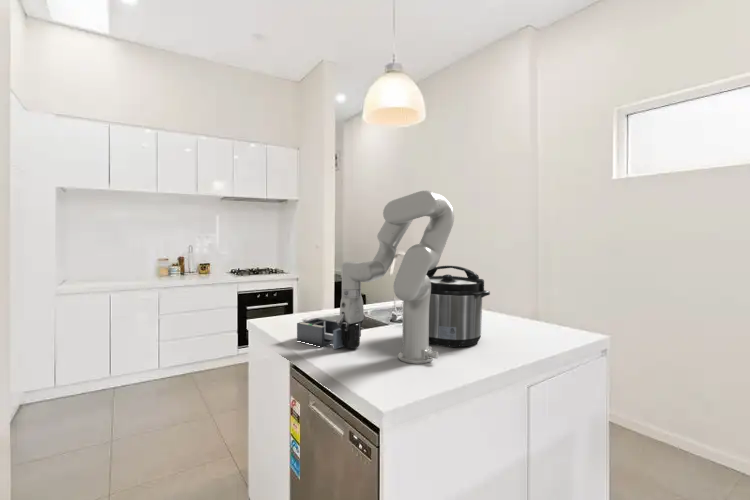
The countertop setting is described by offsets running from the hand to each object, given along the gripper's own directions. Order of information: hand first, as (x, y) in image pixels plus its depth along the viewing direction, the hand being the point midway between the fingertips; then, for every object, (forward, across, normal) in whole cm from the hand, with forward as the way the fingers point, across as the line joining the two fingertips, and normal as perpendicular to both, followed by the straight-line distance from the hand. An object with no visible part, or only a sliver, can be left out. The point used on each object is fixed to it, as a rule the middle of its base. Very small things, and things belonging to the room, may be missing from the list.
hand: (351, 338), depth 153 cm
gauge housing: (+4, 0, +17) cm, 18 cm away
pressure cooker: (+4, +35, -26) cm, 44 cm away
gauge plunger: (+4, -1, +10) cm, 11 cm away
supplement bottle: (+3, 0, 0) cm, 3 cm away
